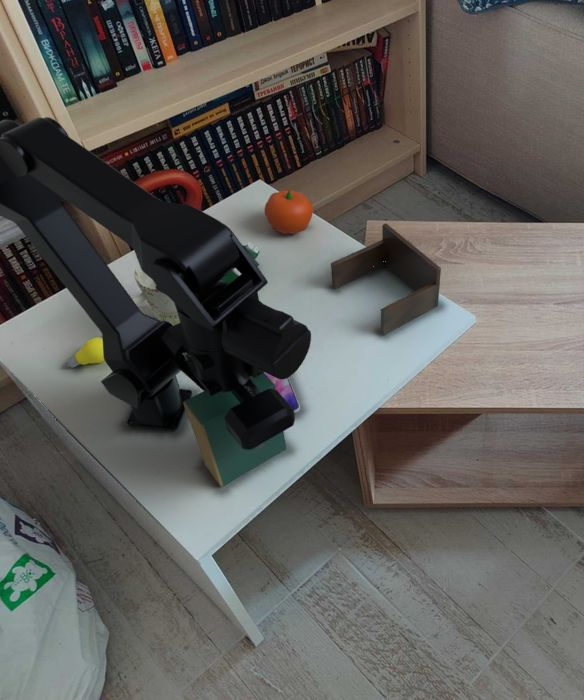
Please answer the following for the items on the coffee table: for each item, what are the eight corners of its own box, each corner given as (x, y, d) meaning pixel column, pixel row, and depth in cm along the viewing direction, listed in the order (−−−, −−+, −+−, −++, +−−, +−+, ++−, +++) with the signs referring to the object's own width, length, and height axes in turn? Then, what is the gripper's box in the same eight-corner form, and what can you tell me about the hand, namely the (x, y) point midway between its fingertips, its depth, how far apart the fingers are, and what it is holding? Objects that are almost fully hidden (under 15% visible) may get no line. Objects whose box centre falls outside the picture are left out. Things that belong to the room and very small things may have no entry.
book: (221, 488, 82) (200, 424, 73) (205, 465, 84) (182, 401, 74) (287, 449, 87) (275, 384, 77) (270, 428, 89) (256, 363, 79)
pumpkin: (314, 240, 115) (316, 201, 111) (266, 240, 113) (265, 200, 108) (309, 217, 121) (311, 179, 116) (263, 216, 118) (262, 178, 113)
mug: (223, 318, 101) (211, 267, 94) (154, 367, 94) (134, 316, 86) (185, 294, 104) (171, 242, 97) (115, 339, 96) (93, 288, 89)
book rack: (383, 335, 102) (384, 297, 96) (332, 286, 108) (329, 247, 102) (437, 306, 107) (441, 268, 101) (385, 261, 114) (386, 222, 108)
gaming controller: (221, 299, 106) (243, 285, 103) (202, 283, 105) (223, 268, 101) (246, 263, 113) (267, 248, 109) (228, 247, 111) (249, 232, 107)
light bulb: (113, 341, 95) (119, 359, 93) (73, 362, 94) (77, 380, 92) (99, 328, 92) (105, 346, 91) (57, 349, 91) (62, 367, 89)
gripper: (333, 350, 68) (339, 438, 80) (239, 254, 77) (257, 346, 88) (233, 403, 63) (255, 490, 74) (143, 293, 71) (176, 386, 83)
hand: (237, 422), depth 80 cm, fingers open, 9 cm apart
